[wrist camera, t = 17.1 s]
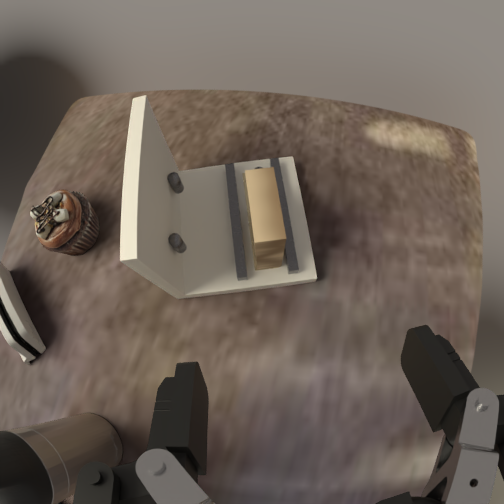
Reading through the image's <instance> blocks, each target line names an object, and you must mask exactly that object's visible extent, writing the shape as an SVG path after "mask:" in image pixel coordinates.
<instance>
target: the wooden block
mask: <svg viewBox="0 0 504 504" xmlns="http://www.w3.org/2000/svg"><path fill="white" fill-rule="evenodd" d="M245 176H246V185H247V194H248V202H249V211H250V219H251V226H252V234H253V241H254V249H255V256H256V264H257V270H258V269H266V268H273V267H281V266H282V260H283V255H284V249H285V243H286V234H285V228H284V222H283V216H282V211H281V205H280V199H279V194H278V188H277V183H276V177H275V172H274V167H270V168H262V167H256V168H255V169H253V170H245Z"/></svg>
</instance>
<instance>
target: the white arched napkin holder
mask: <svg viewBox="0 0 504 504" xmlns="http://www.w3.org/2000/svg"><path fill="white" fill-rule="evenodd" d="M0 330H1V332H2V334H3V336H4V337H5V339H6V341H7V342H8V344H9V345H10V346H11V347H12V348H14V349H15V350H16V351H18V352H19V353H20V355H21V357H22V359H23V361H24V363H25V364H27V365H30V362H29V361H31V360H33V359H35V358H36V357H35V355H36V353H35V351H36V352H37V353H39V352H40V353H41V354H42V353H43V352H44V351H45V349H46V347H45V346H44V344H43V342H42V340H41V338H40V336H39V334H38V333H37V331H36V329H35V327H34V325H33V323H32V321H31V319H30V317H29V315H28V313H27V311H26V308H25V306H24V304H23V302H22V300H21V298H20V295H19V293H18V291H17V288H16V286H15V284H14V281H13V279H12V277H11V274H10V272H9V270H8V269H7V268H6V267H5V266H4V265H3V264H2V263H1V262H0ZM33 349H34V350H35V351H34V350H33Z"/></svg>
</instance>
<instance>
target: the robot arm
mask: <svg viewBox="0 0 504 504" xmlns="http://www.w3.org/2000/svg"><path fill="white" fill-rule="evenodd" d="M401 366H402V369H403V371H404V373H405V375H406V377H407V379H408V381H409V383H410V385H411V387H412V389H413V391H414V393H415V395H416V397H417V399H418V401H419V403H420V405H421V408H422V410H423V412H424V414H425V416H426V418H427V420H428V422H429V424H430V427H431V429H432V431H433V432H436V431H439V430H441V429H443V431H444V433H445V434H444V436H443V439H442V442H441V446H440V449H439V453H438V456H437V459H436V462H435V466H434V469H433V472H432V475H431V477H430V479H429V481H428V483H427V484H426V486H425V488H424V490H423V492H422V494H421V497H411V496H410V493H409V492H406V493H403V494H400V495H397V496H394V497H391V498H388V499H385V500H381V501H379V502H378V503H376V504H489V502H490V498H491V494H492V490H493V485H494V481H495V476H496V471H497V466H498V467H499V469H500V472H501V475H502V477H503V479H504V395H495V393H494V392H492V391H491V390H489V389H486V388H480V387H479V386H478V384H477V383H476V381H475V380H474V378H473V376H472V375H471V373H470V372H469V370H468V369H467V367H466V366H465V364H464V363H463V361H462V360H460V357H459V355H458V354H457V353H455V350H454V348H453V347H452V345H451V344H450V342H449V341H447V340H446V339H445V338H443V337H442V336H440V335H436V336H435V335H434V333H433V332H432V330H431V329H430V328H429V326H427V325H423V326H419V327H415V328H411V329H409V330H408V331H407V335H406V339H405V343H404V347H403V350H402V354H401ZM207 427H208V391H207V387H206V384H205V381H204V378H203V375H202V372H201V369H200V366H199V363H198V362H186V363H177V365H176V371H175V377H166V378H165V379H164V380H163V382H162V383H161V385H160V386H159V388H158V391H157V396H156V402H155V407H154V413H153V419H152V424H151V430H150V436H149V443H148V447H147V450H146V452H144V453H143V454H142V455H141V456H140V457H139V458H138V460H136V461H135V462H132V463H129V464H125V465H120V466H117V465H118V464H119V463H120V461H121V458H122V453H123V450H122V443H121V440H120V438H119V435H118V433H117V432H116V430H115V429H114V427H113V426H112V425H111V424H110V423H109V422H108V421H106V420H105V419H104V418H102V417H100V416H98V415H96V414H92V413H84V414H79V415H75V416H71V417H67V418H62V419H58V420H54V421H49V422H45V423H40V424H36V425H31V426H26V427H21V428H16V429H11V430H5V431H0V504H58V503H60V502H62V501H63V500H65V499H66V498H68V497H70V496H71V495H73V494H74V500H73V504H215V503H214V502H213V501H212V500H211V499H210V498H209V497H208V496H207V495H206V494H205V493H204V491H203V490H202V489H201V488H200V487H199V486H198V485H197V477H198V475H206V458H207Z"/></svg>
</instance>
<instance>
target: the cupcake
mask: <svg viewBox="0 0 504 504" xmlns="http://www.w3.org/2000/svg"><path fill="white" fill-rule="evenodd" d="M30 215H31V216H32V218H33V219H35V229H36V234H37V236H38V238H39V240H40V242H41V244H42V245H43V247H45V248H46V249H48V250H49V251H54V252H58V253H64V254H68V255H74V256H75V255H80V254H84V253H85V252H86V251H87V250H88V249H90V248H91V247H92V246H93V245H94V243H95V241H96V239H97V237H98V234H99V219H98V216H97V215H96V213H95V211H94V209H93V208H92V206H91V204H90V203H89V200H88V199H87V198H86V197H85V195H83V193H82V194H81V193H80V192H79V193H78V192H76V193H75V192H74V191H73V192H71V191H67V190H58V191H56V192H54V193H52V194H50V195H49V196H48V197H47V198H46V199H45V200H44V201H43V203H42V204H41V205H38V206H36V207H34V206H32V209H31V212H30Z"/></svg>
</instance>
